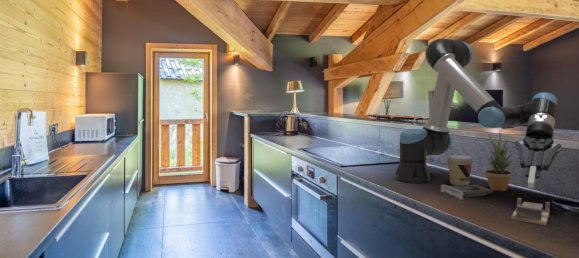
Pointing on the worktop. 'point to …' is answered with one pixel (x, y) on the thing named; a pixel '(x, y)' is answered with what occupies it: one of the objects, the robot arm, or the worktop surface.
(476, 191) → the graphics card
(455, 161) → the coffee cup
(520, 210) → the base
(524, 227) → the worktop surface
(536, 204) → the latch lever
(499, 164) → the potted plant
